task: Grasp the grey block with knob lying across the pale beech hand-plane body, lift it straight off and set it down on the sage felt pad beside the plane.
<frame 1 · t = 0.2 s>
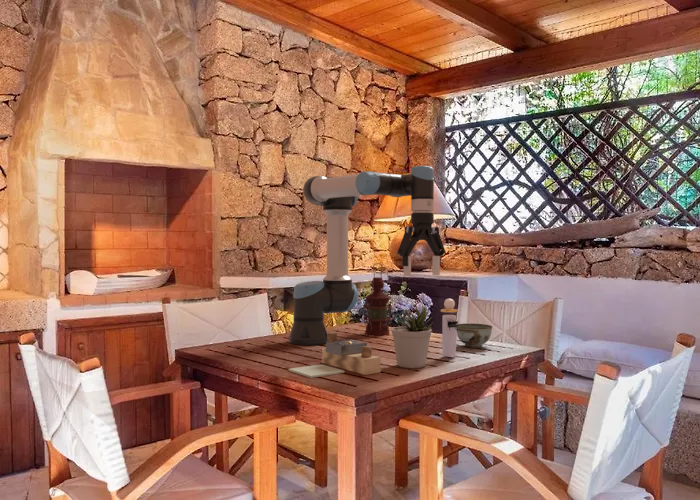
hand: (421, 275, 204), 28 cm above the table, fingers open, 13 cm apart
plane body: (350, 367, 188), on the table
lantern: (377, 334, 257), on the table
grey block with knob: (346, 351, 190), point 4 cm above the table, touching plane body
potted plant: (412, 366, 191), on the table
perfume bottle: (449, 358, 206), on the table
bowl: (473, 347, 227), on the table
felt pad: (316, 371, 182), on the table
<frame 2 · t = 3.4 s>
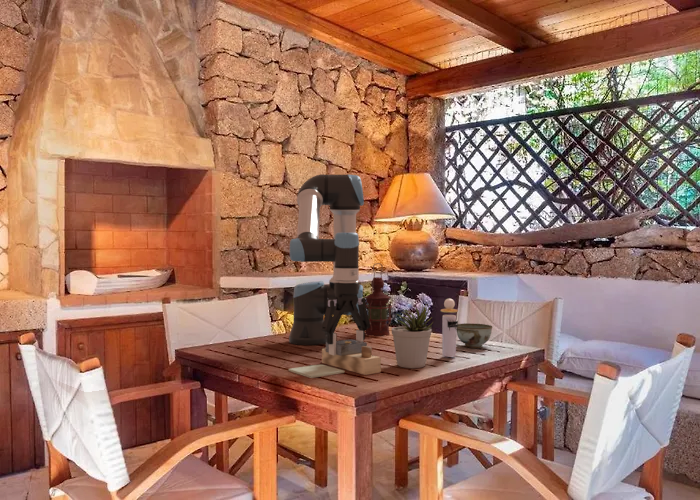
hand: (346, 352, 190), 4 cm above the table, fingers closed on grey block with knob, 10 cm apart
grey block with knob: (346, 351, 190), point 5 cm above the table, touching gripper, plane body
everything else where it was.
when the fingers open (2 cm above the table, at t = 9.0 s): grey block with knob drops 2 cm, resting on felt pad.
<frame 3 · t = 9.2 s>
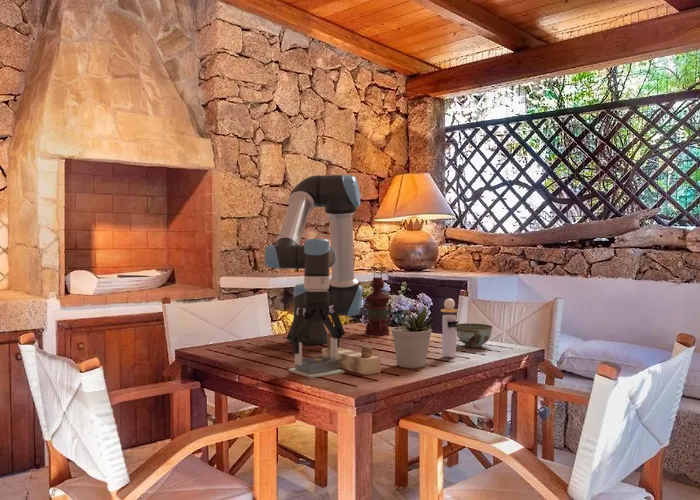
hand: (316, 362, 182), 3 cm above the table, fingers open, 12 cm apart
grey block with knob: (316, 369, 182), point 1 cm above the table, touching felt pad
everything else where it was.
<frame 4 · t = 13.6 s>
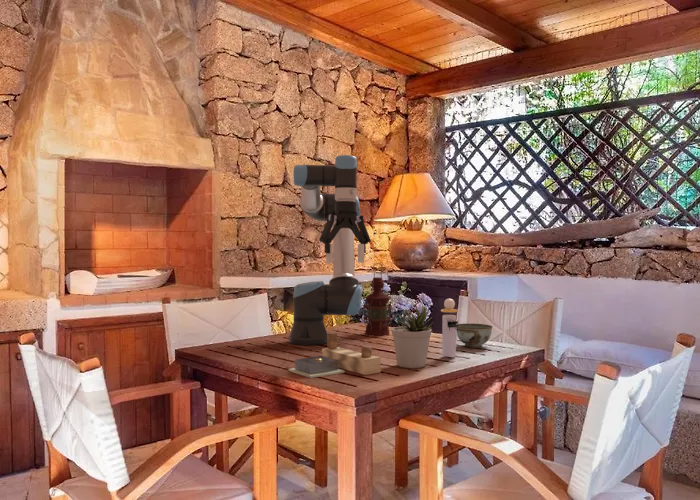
hand: (345, 263, 208), 32 cm above the table, fingers open, 13 cm apart
nothing on the table moved.
at the end: grey block with knob inside the target area on the felt pad (0.0 cm from its centre), point 0.6 cm above the felt pad's base; grey block with knob touching felt pad; the gripper is holding nothing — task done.
